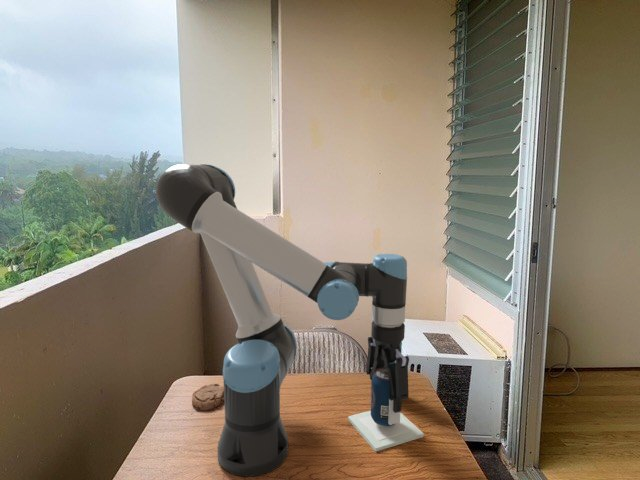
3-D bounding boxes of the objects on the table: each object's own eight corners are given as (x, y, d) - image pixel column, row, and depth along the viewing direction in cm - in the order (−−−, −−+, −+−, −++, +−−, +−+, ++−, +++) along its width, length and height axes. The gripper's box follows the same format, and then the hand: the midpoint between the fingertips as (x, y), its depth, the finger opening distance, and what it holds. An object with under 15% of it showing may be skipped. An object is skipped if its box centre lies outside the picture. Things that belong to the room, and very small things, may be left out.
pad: (375, 451, 90) (375, 448, 90) (347, 419, 102) (347, 416, 102) (423, 436, 96) (423, 433, 95) (392, 407, 107) (392, 404, 107)
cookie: (187, 413, 105) (186, 402, 104) (195, 391, 115) (194, 381, 115) (227, 410, 106) (226, 400, 105) (231, 389, 116) (231, 379, 116)
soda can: (371, 410, 103) (372, 364, 101) (399, 413, 101) (401, 367, 99) (369, 426, 96) (370, 378, 94) (399, 430, 94) (401, 381, 93)
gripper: (429, 334, 87) (424, 434, 91) (379, 306, 105) (376, 390, 109) (399, 340, 84) (395, 442, 88) (353, 310, 102) (351, 396, 106)
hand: (384, 413), depth 98 cm, fingers closed on soda can, 7 cm apart
